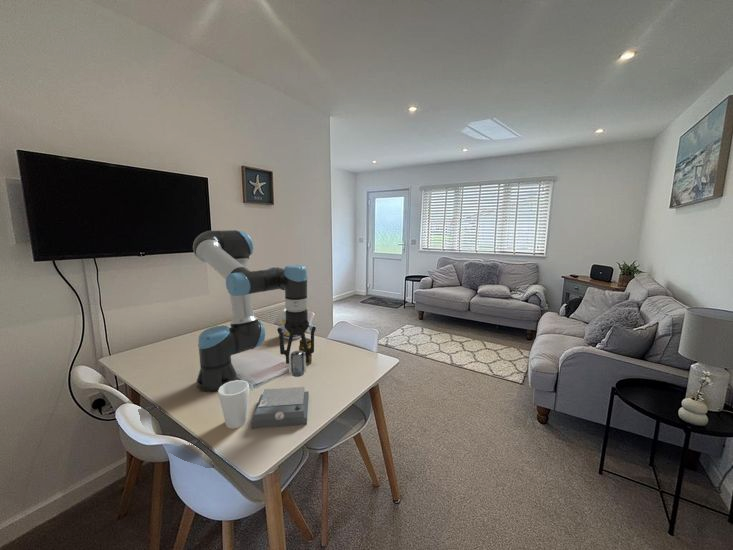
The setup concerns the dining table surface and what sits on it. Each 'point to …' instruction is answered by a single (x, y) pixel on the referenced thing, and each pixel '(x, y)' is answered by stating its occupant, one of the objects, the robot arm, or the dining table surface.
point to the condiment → (301, 348)
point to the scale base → (281, 415)
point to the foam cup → (234, 402)
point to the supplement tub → (286, 333)
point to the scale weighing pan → (282, 397)
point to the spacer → (297, 363)
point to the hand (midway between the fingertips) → (297, 370)
